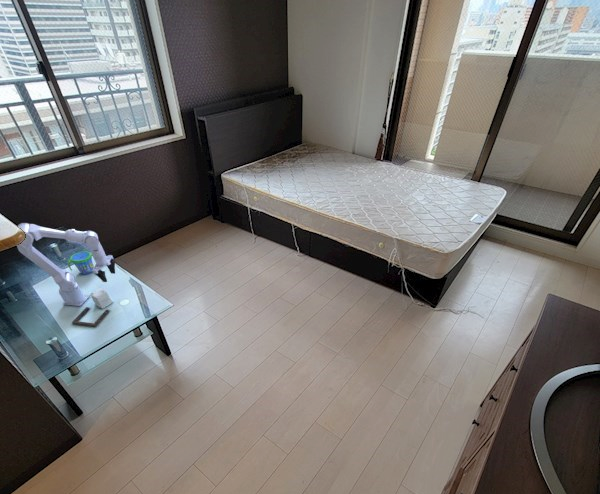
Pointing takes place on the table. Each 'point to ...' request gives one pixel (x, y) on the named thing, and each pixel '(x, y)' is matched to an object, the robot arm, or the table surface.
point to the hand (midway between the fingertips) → (109, 277)
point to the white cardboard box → (101, 298)
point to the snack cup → (82, 262)
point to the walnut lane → (76, 321)
